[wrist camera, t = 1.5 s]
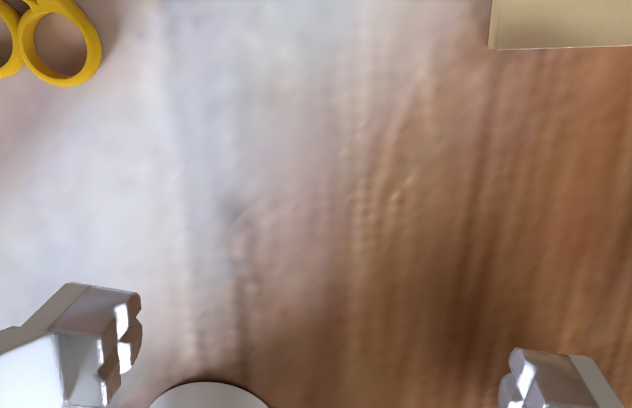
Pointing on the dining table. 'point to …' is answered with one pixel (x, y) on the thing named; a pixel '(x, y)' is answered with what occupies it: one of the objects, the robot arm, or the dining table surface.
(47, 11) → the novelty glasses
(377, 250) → the dining table surface
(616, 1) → the peg stand
